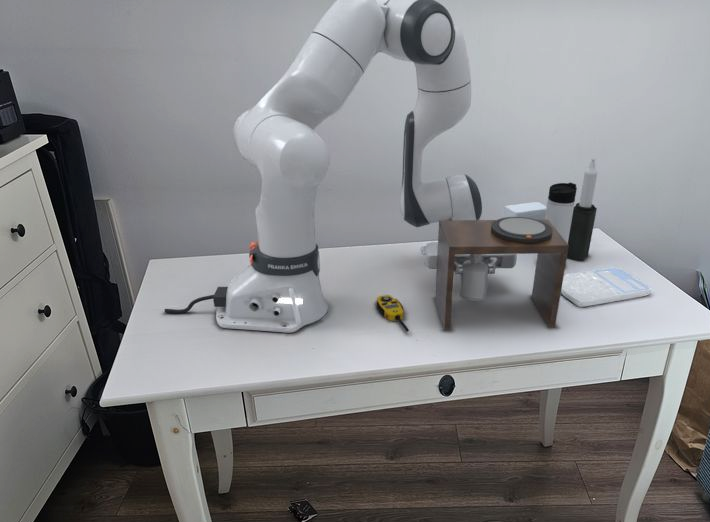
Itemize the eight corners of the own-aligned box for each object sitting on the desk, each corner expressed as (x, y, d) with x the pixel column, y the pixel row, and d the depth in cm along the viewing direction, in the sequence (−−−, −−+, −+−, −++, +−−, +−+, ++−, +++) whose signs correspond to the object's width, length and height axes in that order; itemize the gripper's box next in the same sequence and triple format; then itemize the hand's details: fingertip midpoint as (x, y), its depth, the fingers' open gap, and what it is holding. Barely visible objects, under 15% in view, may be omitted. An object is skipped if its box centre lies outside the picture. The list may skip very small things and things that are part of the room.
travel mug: (570, 266, 153) (584, 186, 143) (550, 272, 150) (563, 191, 139) (552, 257, 157) (564, 179, 147) (533, 263, 154) (544, 183, 144)
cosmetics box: (533, 238, 168) (538, 200, 163) (546, 246, 164) (552, 208, 158) (499, 242, 165) (503, 204, 159) (512, 251, 160) (516, 212, 154)
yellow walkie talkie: (393, 292, 134) (419, 324, 122) (393, 300, 135) (419, 332, 123) (372, 295, 132) (396, 328, 120) (372, 303, 133) (396, 336, 122)
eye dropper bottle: (474, 304, 131) (479, 252, 125) (456, 295, 135) (460, 243, 128) (488, 299, 134) (494, 247, 127) (470, 289, 137) (474, 238, 131)
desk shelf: (444, 330, 124) (449, 246, 115) (435, 298, 136) (439, 220, 126) (555, 327, 127) (569, 245, 117) (536, 296, 138) (548, 219, 129)
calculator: (545, 283, 145) (547, 275, 144) (616, 271, 151) (617, 264, 150) (578, 308, 134) (580, 300, 133) (652, 295, 141) (654, 287, 140)
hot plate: (498, 244, 117) (498, 237, 116) (485, 221, 127) (486, 215, 126) (559, 243, 118) (560, 236, 117) (542, 221, 128) (543, 215, 127)
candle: (582, 261, 156) (600, 161, 143) (563, 257, 158) (579, 158, 145) (589, 255, 159) (607, 157, 146) (570, 250, 162) (587, 153, 149)
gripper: (420, 232, 139) (427, 257, 127) (509, 232, 141) (524, 256, 129) (419, 258, 142) (426, 285, 130) (506, 257, 144) (520, 283, 133)
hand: (476, 271), depth 130 cm, fingers closed on eye dropper bottle, 5 cm apart
